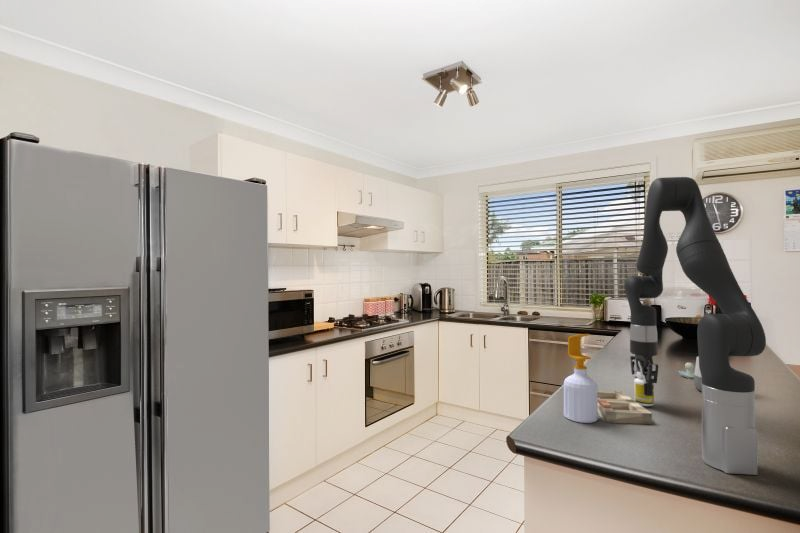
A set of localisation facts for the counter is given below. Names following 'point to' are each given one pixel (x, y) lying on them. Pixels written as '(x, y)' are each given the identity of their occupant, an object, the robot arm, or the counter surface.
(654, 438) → the counter surface
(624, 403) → the socket block
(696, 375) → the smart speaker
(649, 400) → the supplement bottle
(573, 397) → the soap bottle
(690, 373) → the pacifier
